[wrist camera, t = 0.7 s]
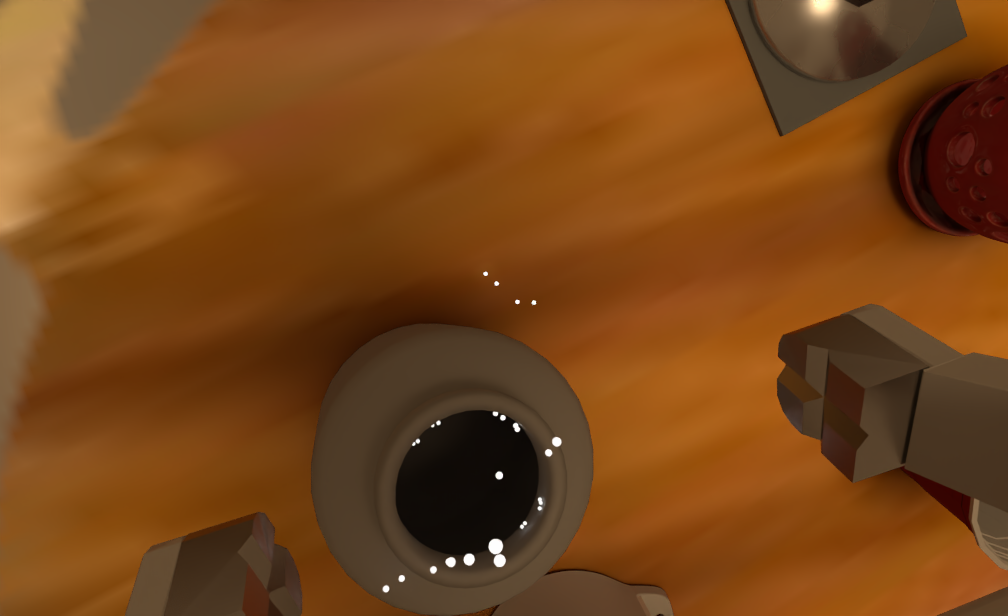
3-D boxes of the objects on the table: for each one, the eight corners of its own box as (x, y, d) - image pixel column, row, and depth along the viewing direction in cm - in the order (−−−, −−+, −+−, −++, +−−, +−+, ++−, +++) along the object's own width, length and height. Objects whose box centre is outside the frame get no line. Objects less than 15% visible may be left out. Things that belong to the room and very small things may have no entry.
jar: (453, 230, 44) (489, 258, 20) (600, 358, 47) (790, 518, 23) (284, 427, 45) (119, 688, 21) (440, 541, 48) (457, 887, 24)
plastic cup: (847, 394, 51) (976, 450, 39) (967, 361, 51) (1128, 406, 40) (863, 513, 53) (990, 601, 41) (978, 479, 53) (1134, 556, 42)
